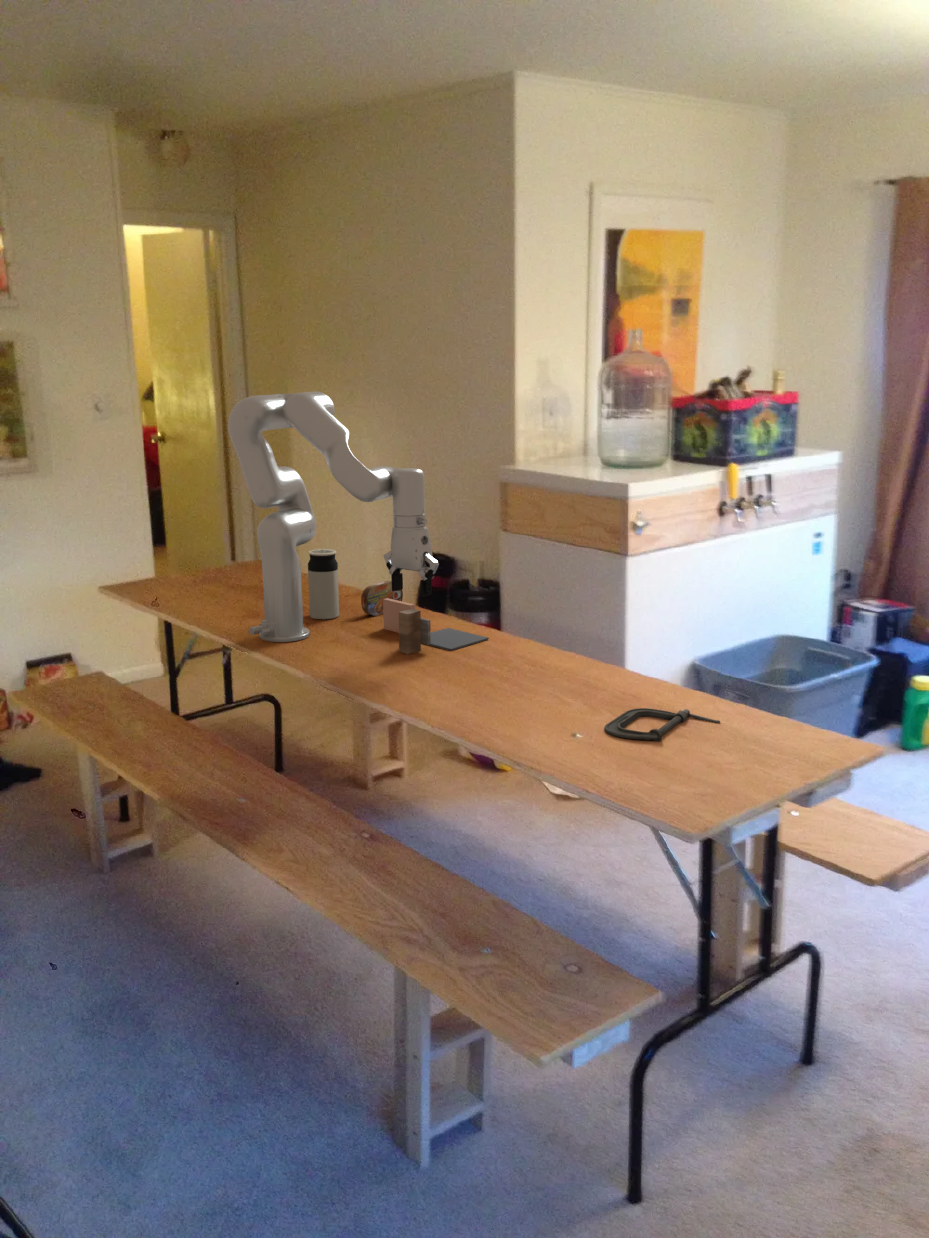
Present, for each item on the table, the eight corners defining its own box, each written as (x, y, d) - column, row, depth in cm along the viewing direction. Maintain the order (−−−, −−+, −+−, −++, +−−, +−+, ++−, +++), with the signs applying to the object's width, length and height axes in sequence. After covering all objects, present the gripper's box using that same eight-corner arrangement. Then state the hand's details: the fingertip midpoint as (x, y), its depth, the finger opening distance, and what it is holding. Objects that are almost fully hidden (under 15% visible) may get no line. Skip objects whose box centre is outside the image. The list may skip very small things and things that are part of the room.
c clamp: (643, 707, 221) (643, 694, 221) (720, 725, 211) (721, 712, 210) (591, 734, 206) (592, 720, 205) (672, 755, 196) (673, 741, 195)
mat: (450, 650, 259) (450, 649, 259) (410, 640, 268) (410, 638, 268) (488, 639, 269) (488, 637, 269) (448, 629, 278) (448, 627, 278)
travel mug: (336, 620, 287) (335, 554, 282) (307, 620, 287) (305, 554, 282) (340, 613, 294) (339, 548, 290) (312, 612, 295) (309, 548, 290)
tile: (410, 635, 272) (410, 605, 270) (383, 628, 279) (383, 599, 277) (415, 634, 273) (415, 604, 271) (388, 627, 280) (387, 598, 278)
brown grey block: (415, 656, 254) (415, 615, 252) (391, 650, 259) (391, 610, 257) (430, 652, 258) (430, 611, 255) (407, 645, 263) (406, 606, 261)
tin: (367, 618, 289) (367, 588, 287) (359, 617, 291) (358, 586, 289) (404, 608, 300) (403, 579, 298) (395, 606, 302) (395, 577, 300)
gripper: (447, 523, 247) (449, 595, 251) (395, 516, 259) (397, 585, 263) (424, 527, 242) (426, 600, 246) (372, 520, 253) (375, 590, 257)
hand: (411, 592), depth 254 cm, fingers open, 9 cm apart
